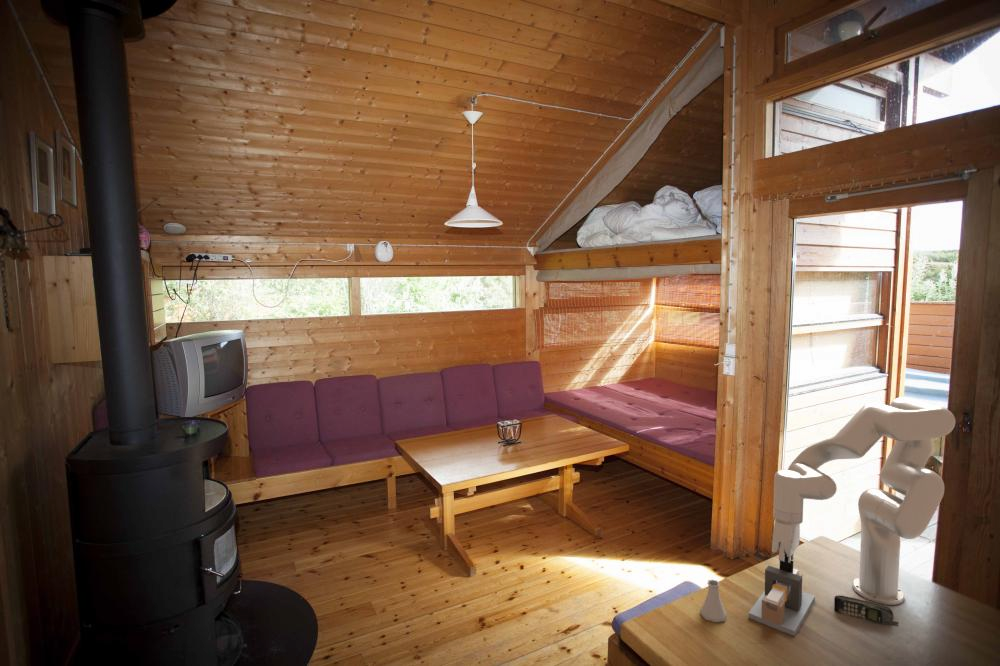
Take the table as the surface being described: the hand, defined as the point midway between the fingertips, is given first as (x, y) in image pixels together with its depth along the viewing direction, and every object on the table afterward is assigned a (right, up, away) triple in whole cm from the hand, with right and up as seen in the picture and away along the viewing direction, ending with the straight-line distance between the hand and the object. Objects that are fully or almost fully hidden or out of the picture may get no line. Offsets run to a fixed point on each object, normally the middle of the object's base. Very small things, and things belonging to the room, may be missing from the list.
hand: (786, 572), depth 157 cm
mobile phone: (+19, -10, -7) cm, 22 cm away
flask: (-22, -11, -2) cm, 25 cm away
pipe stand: (-2, -10, -1) cm, 10 cm away
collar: (-2, -8, -1) cm, 8 cm away
